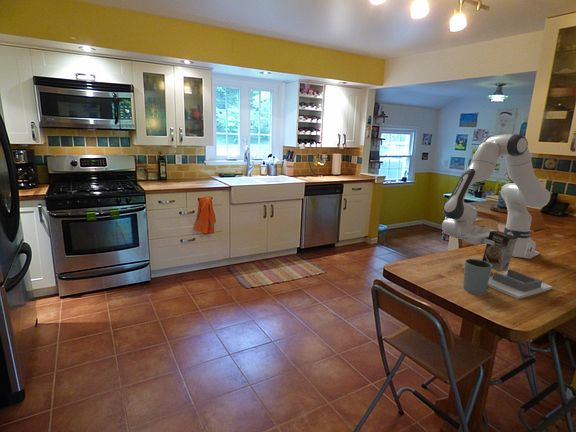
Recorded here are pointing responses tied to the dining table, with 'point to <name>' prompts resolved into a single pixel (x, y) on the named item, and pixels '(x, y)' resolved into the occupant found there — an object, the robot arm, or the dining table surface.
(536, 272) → the dining table surface
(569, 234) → the dining table surface
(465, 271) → the ceramic plant pot
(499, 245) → the coffee box
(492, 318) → the dining table surface
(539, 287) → the white base plate
